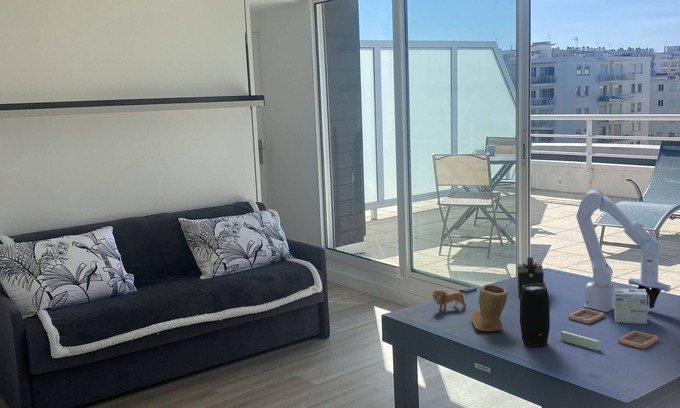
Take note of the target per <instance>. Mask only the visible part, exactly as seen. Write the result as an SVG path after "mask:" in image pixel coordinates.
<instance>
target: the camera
mask: <svg viewBox="0 0 680 408" xmlns="http://www.w3.org/2000/svg"><path fill="white" fill-rule="evenodd" d="M516 268H517V280H516V281H517V291H518V299H520V298H521V292H522V285H529V284H534V283H541V284H544V285H545V286H546V287H547V285H546V282H545V281H544V276H545V275H544V269H543V268H544V267H543V265H542V264H541V263H538V264H537V263H536V262H535V261H534V257H532V256H531V257H530V256H529V257H527V259H526V262H523V263H518V264H517V266H516Z"/></svg>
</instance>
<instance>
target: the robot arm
mask: <svg viewBox="0 0 680 408" xmlns="http://www.w3.org/2000/svg"><path fill="white" fill-rule="evenodd" d="M598 209H599V212H603V213H604V212H605V213H608V214H609V215H610V216H611V217H613V218H614V220H616V221H617V222H618V223H619V224H620V225H621V226H622V227H623V228H624V229H623V232H624V234H625V235H626V236H627V237H629V239H630V240H631V241H632V242H634V244H636V245H637V246H639V247H640V250H641V257H640V278H633V277H631V278H629V279H628V285H630V286H632V285H634V286H637V287H636V289H646V293H647V307H649V309H653V308H655V304H656V302H657V299H658V296H659V295H660V293H661V292H662V291H664V292H667V293H668V292H670V291H671V290H672V289H671V288H672V287H671V284H670V285H669V284H666V283H663V282H660V281H659V251H660V246H659V245H660V244H659V241H658V239H657V237H656V236H654V235H653V234H652V232H651V233H649V232H648V231H647V230H646V229H645V228H644V227H643V226H644V225H643V224H642V222H638V221H635V220H631V219H630V218H629V217H628V216H627V215H626V214H625V213H624V212H623V211H622V210H621V208H619V207H618V206H617V205H616V203H614V201H613V200H611V199H610V197H608V196H607V195H606V194H604V193H603V192H602V191H601V190H600V189H597V188H592V189H589V190H588V191H587V192H586V193H585V194H584V196H583V197H582V200H581V201H580V204H579V207H578V209H577V213H576V220H577V223H578V227H579V230H580V233H581V236H582V238H583V241H584V244H585V246H586V251H587V254H588V256H589V259H590V263H591V269H592V273H593V274H592V281H589V282H588V283H587V284H586V285H585V288H584V304H583V307H585V308H586V309H588V308H589V309H591V310H592V309H593V310H595V311H599V312H601V311H602V312H603V313H604V312H605V313H607V312H610V311H612V310H614V283H613V281H612V276H613V268H612V267H611V266H610V265H609V264H608V262H607V259H606V258H605V256H604V254H603V250H602V247H601V244H600V241H599V238H598V235H597V232H596V229H595V226H594V222H593V221H592V215H594V213H595V212H596V211H597V210H598Z"/></svg>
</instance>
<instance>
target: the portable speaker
mask: <svg viewBox="0 0 680 408" xmlns="http://www.w3.org/2000/svg"><path fill="white" fill-rule="evenodd" d="M550 306H551V305H550V298H549V293H548V288H547V285H546V286H545V285H544V284H541V283H534V284H529V285H522V292H521V298H519V325H520V334H521V340H522V343H523V345H524V346H525V347H529V348H534V347H535V346H542V347H547V346H548V340H549V335H550V326H551V325H550V323H551V322H550V321H551V320H550V319H551V315H550V313H551V312H550V310H551V309H550Z"/></svg>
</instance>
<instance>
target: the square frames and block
mask: <svg viewBox="0 0 680 408" xmlns="http://www.w3.org/2000/svg"><path fill="white" fill-rule="evenodd" d="M604 318H605V313H604V312H601V311H598V310H594V309H593V310H592V309H588V308H583V309H580V310H578V311H575V312H573V313H571V314H569V315H568V320H570V321H573V322H578V323H580V324H584V325H585V324H586V325H591V324H593V323H596V322H597V321H599V320H601V319H604ZM560 340H561V342H566V343H570V344H573V345H577V346H580V347H583V348H587V349H590V350H594V351H599V350H600V340H598V339H594V338H590V337H587V336H583V335H579V334H576V333H572V332H568V331H565V330H562V331H560ZM657 342H659V336H658V335H653V334H649V333H645V332H642V331H638V330H633V331H631V332H628V333H627V334H625V335H623V336H622V337H619V338H618V344H620V345H623V346H628V347H631V348H636V349H639V350H644V349H646V348H648V347H650V346H651V345H653V344H655V343H657Z"/></svg>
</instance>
